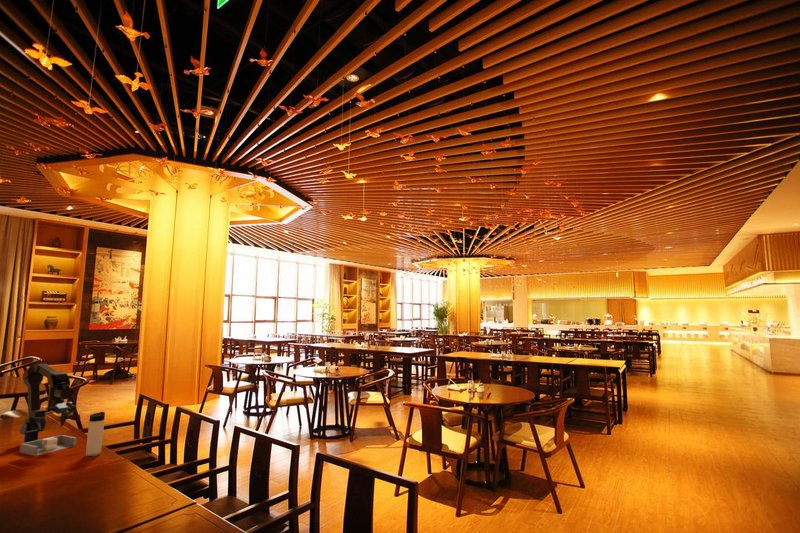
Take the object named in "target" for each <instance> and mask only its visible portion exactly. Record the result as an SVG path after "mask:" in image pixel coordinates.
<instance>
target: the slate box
mask: <svg viewBox="0 0 800 533" xmlns="http://www.w3.org/2000/svg"><path fill="white" fill-rule="evenodd" d="M51 437H52V436H50V437H49V436H48V438H51ZM53 437H55V438H58V441H57V448H56V449H52V450H47V451H45V450H41V448H42V439H43V438H41V439H40V438H39V439H38V440H35V441H31V442H26V443H23V442H22V443H20V444H19V453H21V454H25V455H29V456H33V457H36V456H39V455H44V454H47V453H52V452H56V451H60V450H64V449H68V448H71V447H76V446H77V437H75V436H70V435H67V434H60V435H53ZM46 438H47V437H44V439H46Z"/></svg>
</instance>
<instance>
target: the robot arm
mask: <svg viewBox="0 0 800 533" xmlns="http://www.w3.org/2000/svg"><path fill="white" fill-rule="evenodd" d="M44 377H45V378H46V379H47V380H46V382H48V384H49V385H48V388H49V390H48V398H46V402H47V406H46V407H45V410H43V409H41V399H40V398H41V397H40V395H41V394H40V393H41V392H40V385H41V383H42V382H43V381H44ZM22 380H23V384H24V385H25V386H26V387H27V404H28V405H27V407H28V408H27V409H28V410H27V411H28V412H27V413H28V414H27V416H26V418H24V421H23V424H22V426H21V427H20V428H19V434H20V435H23V442H22V443H26V442H31V441H35V440H39V439H38V438H39V432H43V431H44V429H45V427H46V424H47V423H46V415H48V414H54V413H55V414H57V415H60V427H64V424H65V422H66V421H67V419H68V417H69V416H70V415H71V414H73V413H74V412H76V411H77V408H78V407H77V405H75V404H73V402H72V401H67V402H65V400H68V399H71V397H72V396H73V395H74V389H73V388H71V380H70V378H69V375H68V373H67V372H66V371H62V370H60V371H59V370H56V369H54V368H53V367H51V366H49V364H48V363H37V364H35V365H34V366H32V367H29V368H28V369H26V370H25V371H24V372H23V373H22Z"/></svg>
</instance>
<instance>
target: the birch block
mask: <svg viewBox="0 0 800 533" xmlns="http://www.w3.org/2000/svg"><path fill="white" fill-rule="evenodd" d="M50 437H51V438H49V437H45V438H46V439H45V438H41V439H42V448H41V450H45V451H47V450H52V449H56V448H57V441H58V438H55V437H54V436H50Z"/></svg>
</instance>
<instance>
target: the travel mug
mask: <svg viewBox="0 0 800 533" xmlns="http://www.w3.org/2000/svg"><path fill="white" fill-rule="evenodd" d="M105 416H106V412H105V411H100V412H95V413H92V414H89V421H88V429H87V440H86V448H85V457H87V456H93V457H97V455H98V456H100V455H101V454H102V445H103V440H104V438H103V437H104V429H105V428H104V427H105Z"/></svg>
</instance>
